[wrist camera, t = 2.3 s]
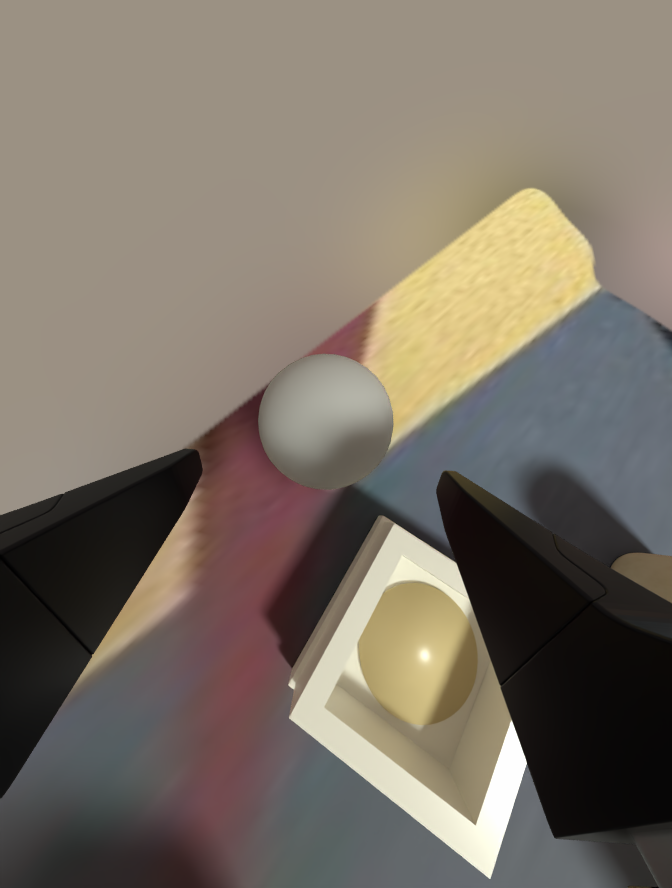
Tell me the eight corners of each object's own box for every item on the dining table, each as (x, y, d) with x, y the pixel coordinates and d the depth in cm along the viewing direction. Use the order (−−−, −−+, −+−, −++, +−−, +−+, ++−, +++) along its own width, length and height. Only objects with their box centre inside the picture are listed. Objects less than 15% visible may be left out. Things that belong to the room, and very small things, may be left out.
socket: (517, 605, 17) (573, 632, 13) (448, 790, 14) (493, 893, 10) (378, 515, 18) (392, 515, 14) (291, 668, 16) (279, 720, 12)
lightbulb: (362, 504, 18) (408, 492, 8) (280, 493, 18) (216, 466, 8) (369, 427, 20) (416, 331, 9) (295, 417, 20) (258, 310, 10)
